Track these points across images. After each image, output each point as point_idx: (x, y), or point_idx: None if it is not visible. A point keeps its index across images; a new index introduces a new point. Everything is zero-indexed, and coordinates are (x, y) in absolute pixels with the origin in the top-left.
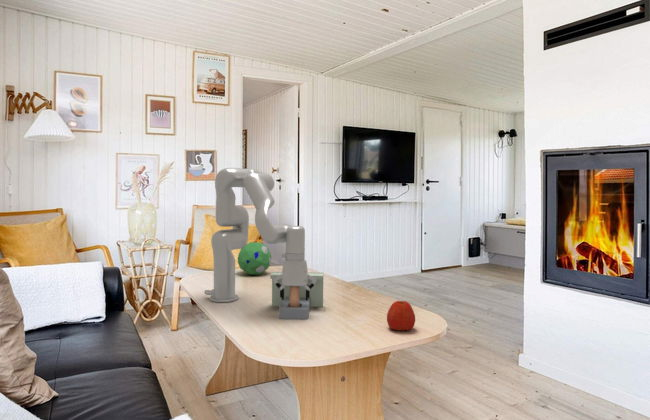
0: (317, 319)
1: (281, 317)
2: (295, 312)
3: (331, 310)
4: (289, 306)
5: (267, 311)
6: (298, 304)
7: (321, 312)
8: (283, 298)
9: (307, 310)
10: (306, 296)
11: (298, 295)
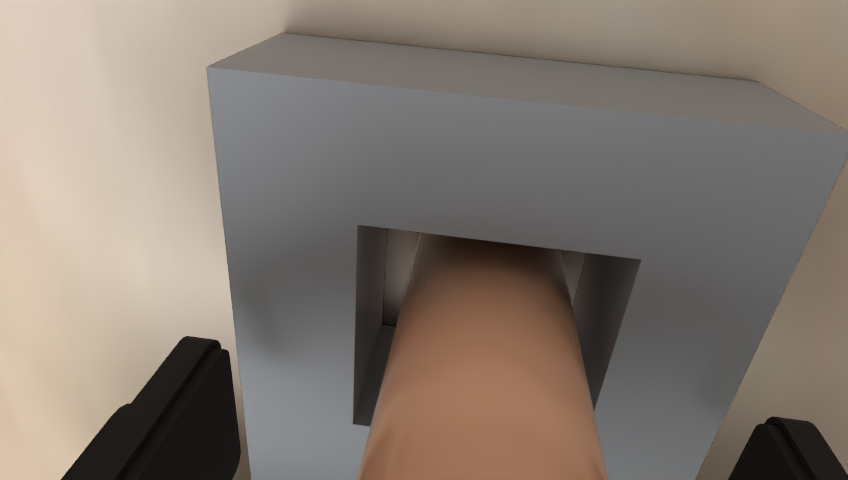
0: (130, 30)
1: (727, 83)
2: (476, 79)
3: (51, 388)
4: None
5: (842, 430)
6: (407, 317)
7: (145, 333)
8: (761, 461)
9: (221, 60)
10: (160, 402)
11: (374, 469)
